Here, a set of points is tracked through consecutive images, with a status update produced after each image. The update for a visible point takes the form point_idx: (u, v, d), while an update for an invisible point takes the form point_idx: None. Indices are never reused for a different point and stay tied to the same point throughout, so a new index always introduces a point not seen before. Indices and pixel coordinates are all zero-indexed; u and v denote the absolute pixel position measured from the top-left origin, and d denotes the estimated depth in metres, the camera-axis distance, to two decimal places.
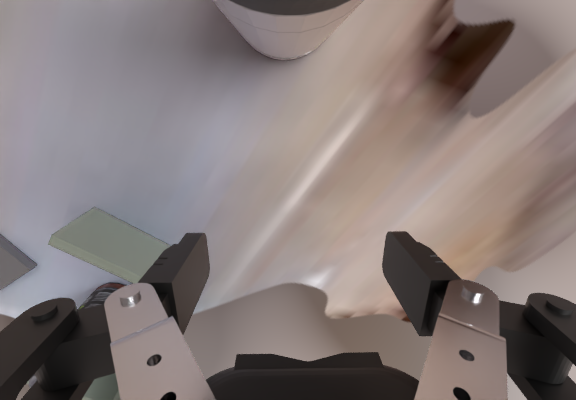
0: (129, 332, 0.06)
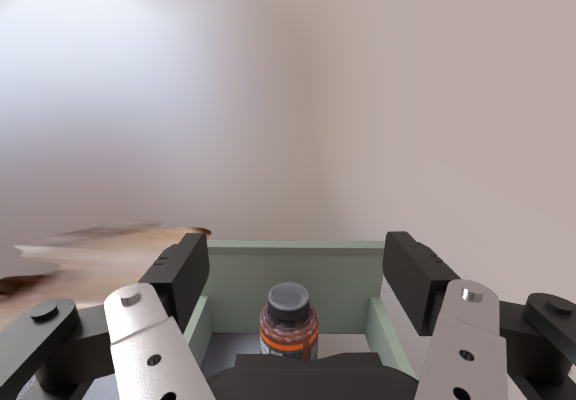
0: (129, 332, 0.06)
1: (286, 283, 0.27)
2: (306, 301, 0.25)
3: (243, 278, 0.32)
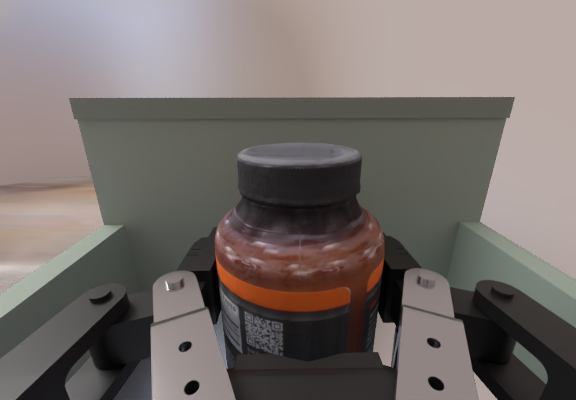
0: (182, 313, 0.07)
1: (290, 143, 0.10)
2: (357, 155, 0.08)
3: (194, 180, 0.15)
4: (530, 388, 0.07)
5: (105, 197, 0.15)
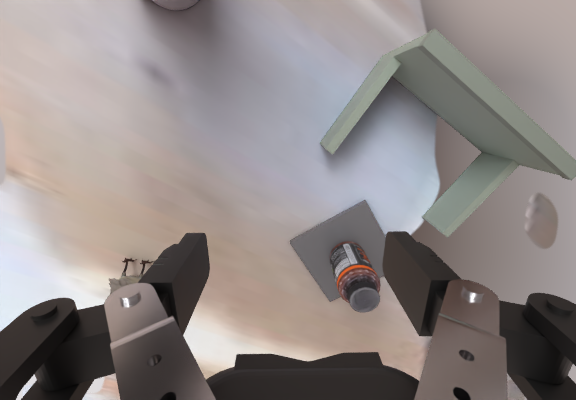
0: (129, 332, 0.06)
1: (375, 294, 0.35)
2: None
3: (441, 84, 0.30)
4: None
5: (403, 56, 0.30)
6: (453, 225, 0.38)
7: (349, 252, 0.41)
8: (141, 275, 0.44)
